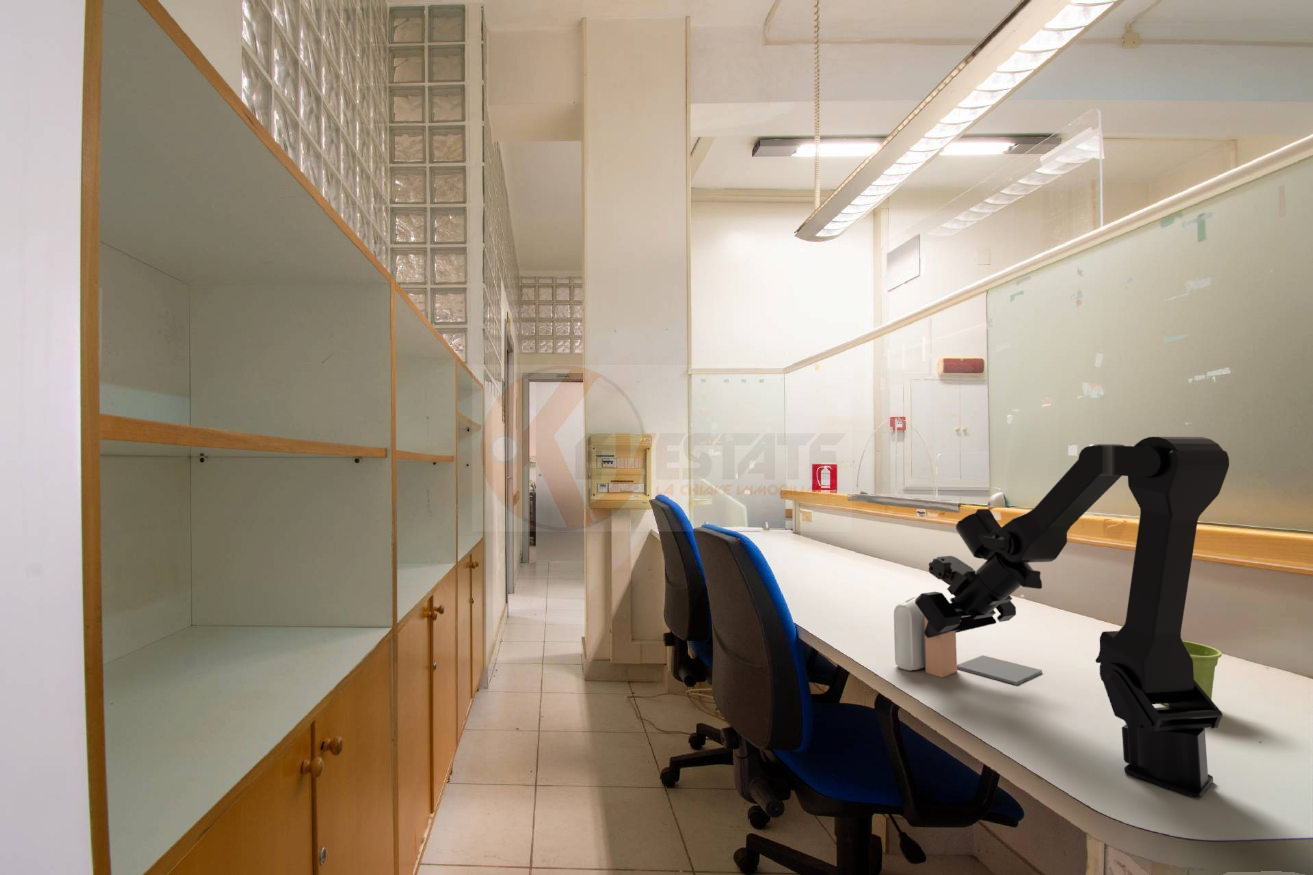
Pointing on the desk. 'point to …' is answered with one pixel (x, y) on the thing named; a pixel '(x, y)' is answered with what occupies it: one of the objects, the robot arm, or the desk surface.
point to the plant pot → (1203, 665)
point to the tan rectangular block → (940, 653)
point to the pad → (999, 669)
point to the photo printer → (909, 635)
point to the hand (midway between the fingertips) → (937, 633)
